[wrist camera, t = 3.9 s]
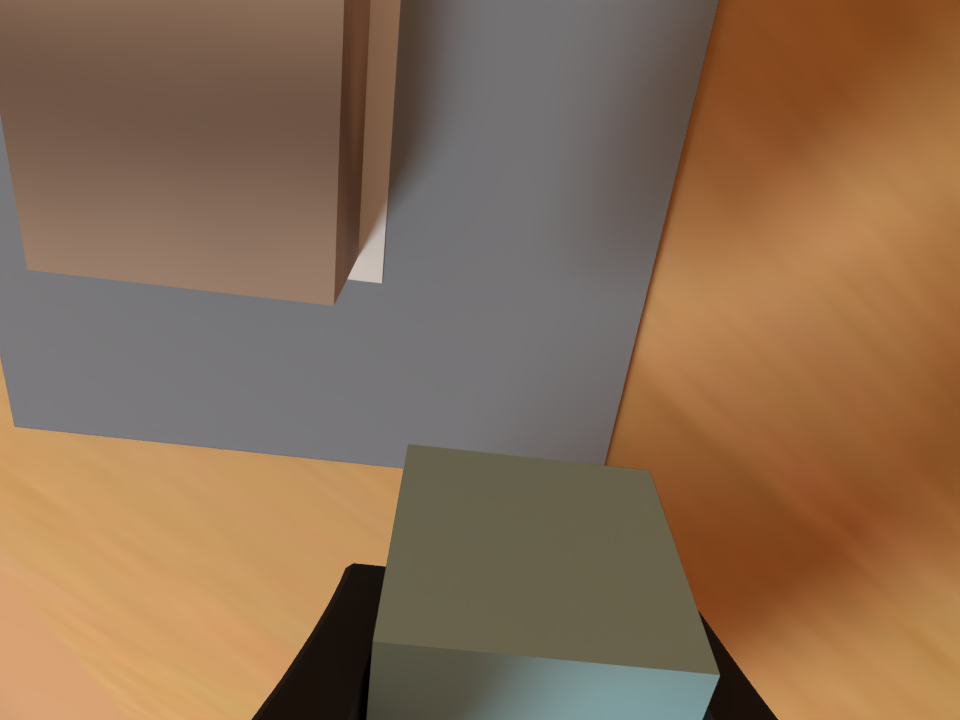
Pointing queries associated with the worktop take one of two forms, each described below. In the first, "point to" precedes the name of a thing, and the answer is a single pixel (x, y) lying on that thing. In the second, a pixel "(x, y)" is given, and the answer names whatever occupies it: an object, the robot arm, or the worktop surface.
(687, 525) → the worktop surface
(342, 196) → the walnut base block
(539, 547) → the teal cube
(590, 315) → the build mat
